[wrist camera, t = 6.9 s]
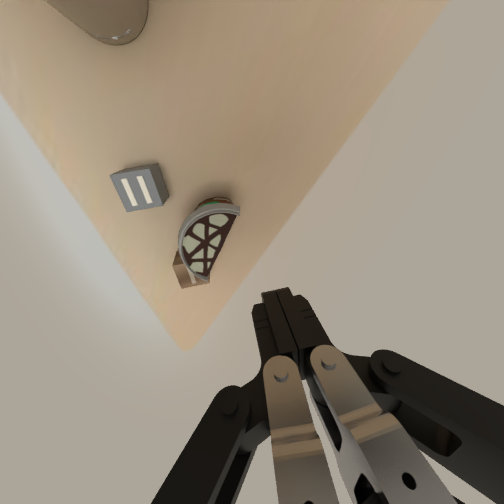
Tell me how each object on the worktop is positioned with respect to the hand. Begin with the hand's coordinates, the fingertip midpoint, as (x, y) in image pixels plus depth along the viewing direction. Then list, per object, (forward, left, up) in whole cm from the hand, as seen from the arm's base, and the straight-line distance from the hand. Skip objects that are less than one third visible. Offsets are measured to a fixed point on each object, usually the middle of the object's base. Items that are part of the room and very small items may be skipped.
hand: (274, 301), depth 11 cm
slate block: (-3, -13, -27) cm, 30 cm away
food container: (+4, -6, -27) cm, 28 cm away
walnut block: (+12, -10, -27) cm, 31 cm away
